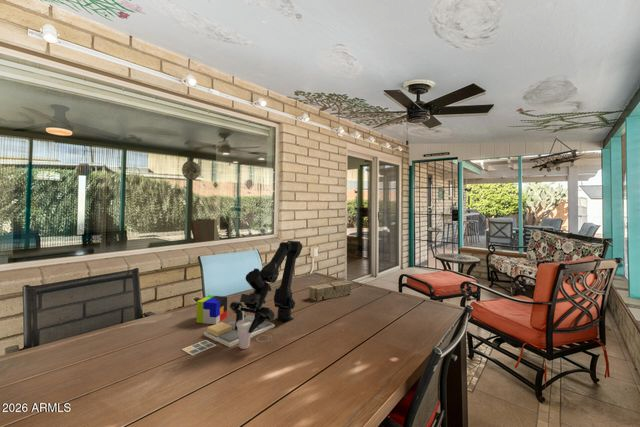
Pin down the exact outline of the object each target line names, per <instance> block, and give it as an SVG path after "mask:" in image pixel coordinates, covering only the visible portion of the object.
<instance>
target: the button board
mask: <svg viewBox="0 0 640 427" xmlns="http://www.w3.org/2000/svg"><path fill="white" fill-rule="evenodd" d="M245 316H246V317H245V318H244V319H249V320H252V321H253V320H254V318H255V315H250V314H248V315H245ZM225 324H228V325H230V326H232V331H229V332H227V333H224V334H222V335H219V337H216V336H214V335H212V334H210V333H208V332H207V331H205V332H203V336H204V337H207V338H209V339H211V340H213V341H216V342H218V343H220V344H222V345H224V346H226V347H228V348H231V347H233V346H235V345H239V338H238V329H237V330H235V324H236V319H235V320H232V321H229V322H226V323H225ZM275 325H276V324H274V323H273V322H272V321H269V320H267V321H264V322H263V323H262V324H260V325H259V326H258V327H257V328H256V329H255V330H253V331H252V332H251V337H250V339H251V338H253V337H255V336H257V335H259V334H261V333H262V334H263V333H264V332H266V331H269V330H271V329H273V328H275Z"/></svg>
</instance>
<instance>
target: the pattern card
mask: <svg viewBox="0 0 640 427" xmlns="http://www.w3.org/2000/svg"><path fill="white" fill-rule="evenodd" d="M216 346H217V344H215V343H212V342H210V341H209V340H207V339H205V340H202V341H199V342H197V343H194V344H192V345H190V346H187V347H184V348H182V349H181V350H182V351H183V352H184V353H187V354H189V355H190V356H192V357H193V356H196V355H198V354H200V353H202V352H204V351H205V352H206V351H207V350H209V349H211V348H214V347H216Z"/></svg>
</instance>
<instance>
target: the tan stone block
mask: <svg viewBox="0 0 640 427" xmlns="http://www.w3.org/2000/svg"><path fill="white" fill-rule="evenodd" d="M352 287H354V282H352V281H349V280H340V281H333V282H330V283H329V284H328V283H322V284H317V285H310V286H308V298H311V299H310V300H312V299H313V300H314V301H316V300H318V301H317V302H320V301H319V300H323V299H327V298H332V297H336V296H341V295H346V294H350V293H351V294H352ZM315 299H316V300H315ZM332 299H333V298H332ZM313 300H312V301H313ZM327 300H328V299H327Z"/></svg>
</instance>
